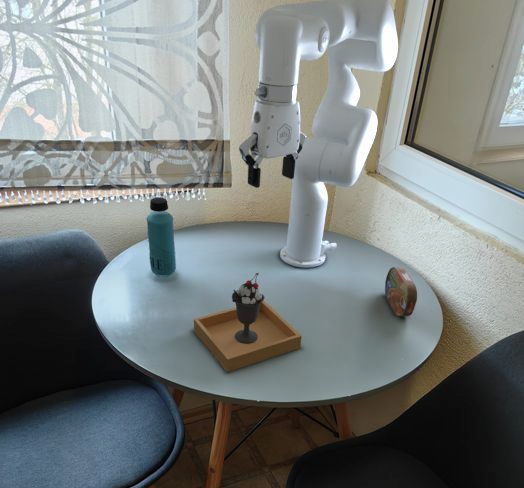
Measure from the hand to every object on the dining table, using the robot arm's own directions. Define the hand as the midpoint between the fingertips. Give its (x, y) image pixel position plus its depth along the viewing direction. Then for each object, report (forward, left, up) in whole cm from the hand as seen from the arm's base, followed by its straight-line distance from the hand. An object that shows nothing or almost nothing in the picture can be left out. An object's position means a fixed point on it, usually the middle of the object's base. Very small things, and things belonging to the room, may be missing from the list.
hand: (271, 181), depth 109 cm
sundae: (+10, +16, -28) cm, 34 cm away
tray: (+10, +16, -28) cm, 34 cm away
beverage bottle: (+21, -16, -28) cm, 39 cm away
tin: (-30, +13, -28) cm, 44 cm away
